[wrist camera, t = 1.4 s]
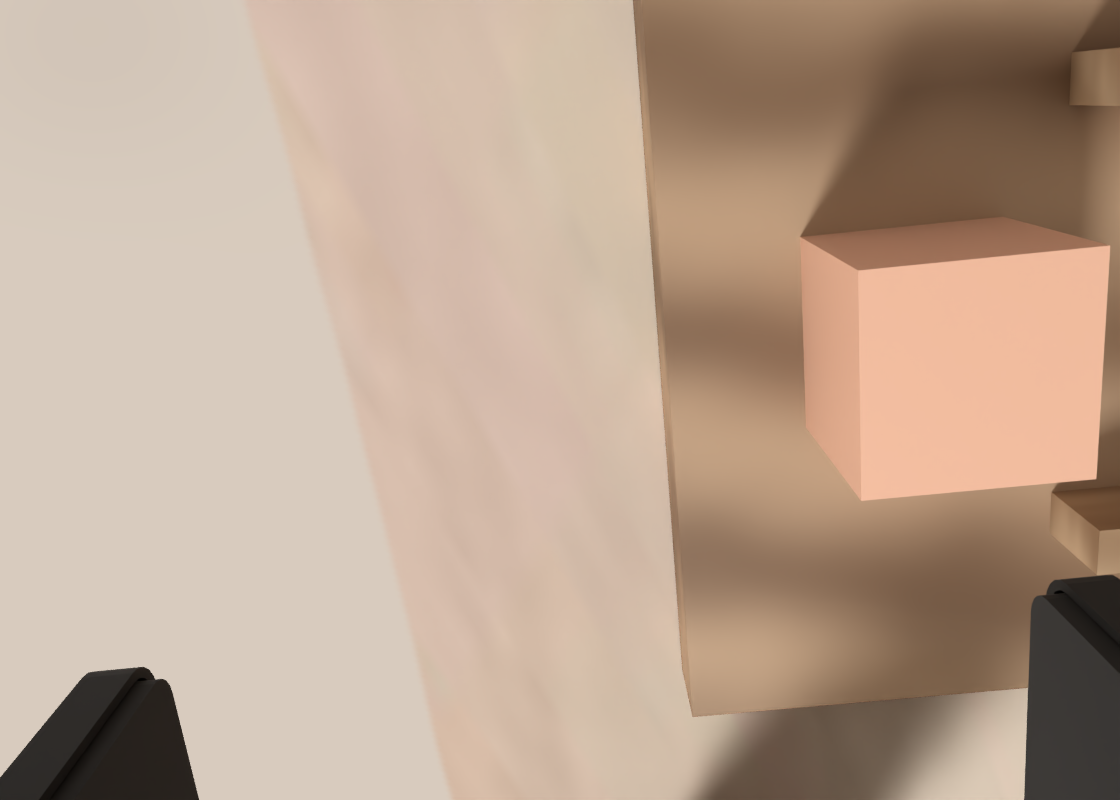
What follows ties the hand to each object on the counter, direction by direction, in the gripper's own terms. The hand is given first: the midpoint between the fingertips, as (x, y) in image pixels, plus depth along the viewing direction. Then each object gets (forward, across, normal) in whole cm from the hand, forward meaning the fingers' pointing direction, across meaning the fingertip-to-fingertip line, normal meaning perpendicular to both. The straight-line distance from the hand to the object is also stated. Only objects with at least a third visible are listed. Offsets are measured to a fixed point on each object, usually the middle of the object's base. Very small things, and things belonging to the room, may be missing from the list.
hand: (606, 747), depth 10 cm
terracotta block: (+16, -8, 0) cm, 18 cm away
